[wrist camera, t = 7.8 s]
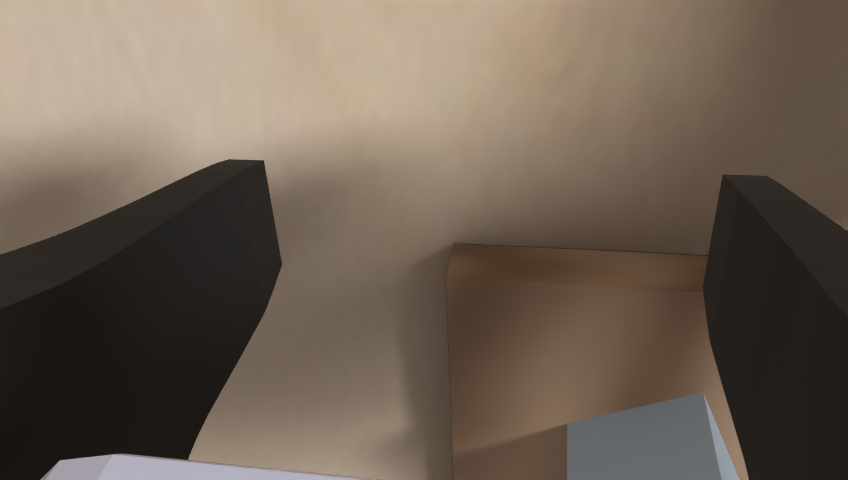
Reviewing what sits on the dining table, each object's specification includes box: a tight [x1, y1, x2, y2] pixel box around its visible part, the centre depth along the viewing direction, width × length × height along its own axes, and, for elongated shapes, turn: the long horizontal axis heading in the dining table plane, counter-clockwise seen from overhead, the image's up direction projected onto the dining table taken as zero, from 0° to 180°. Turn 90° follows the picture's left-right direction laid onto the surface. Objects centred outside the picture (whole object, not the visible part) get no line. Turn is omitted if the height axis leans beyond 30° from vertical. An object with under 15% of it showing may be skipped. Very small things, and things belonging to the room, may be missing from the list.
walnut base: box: [446, 244, 749, 480], centre depth 26 cm, size 14×14×2 cm
